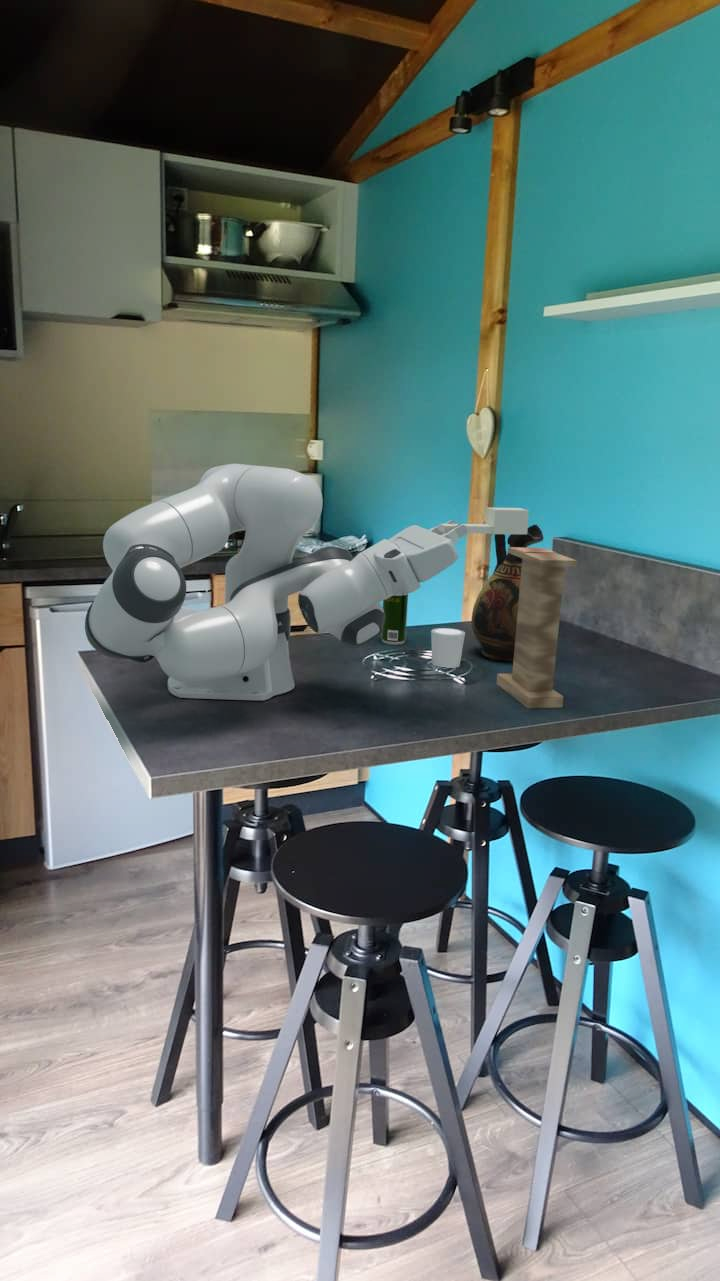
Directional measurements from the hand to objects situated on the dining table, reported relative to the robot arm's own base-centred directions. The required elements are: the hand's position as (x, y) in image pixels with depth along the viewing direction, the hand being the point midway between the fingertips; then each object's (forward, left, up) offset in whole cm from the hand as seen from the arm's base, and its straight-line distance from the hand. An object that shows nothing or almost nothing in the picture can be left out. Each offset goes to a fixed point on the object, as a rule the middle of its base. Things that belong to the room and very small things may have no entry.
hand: (460, 526), depth 154 cm
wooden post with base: (+17, +4, -31) cm, 35 cm away
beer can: (+2, +44, -31) cm, 54 cm away
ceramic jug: (+23, +32, -31) cm, 50 cm away
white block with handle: (+4, 0, -1) cm, 4 cm away
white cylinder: (+8, +25, -31) cm, 41 cm away
